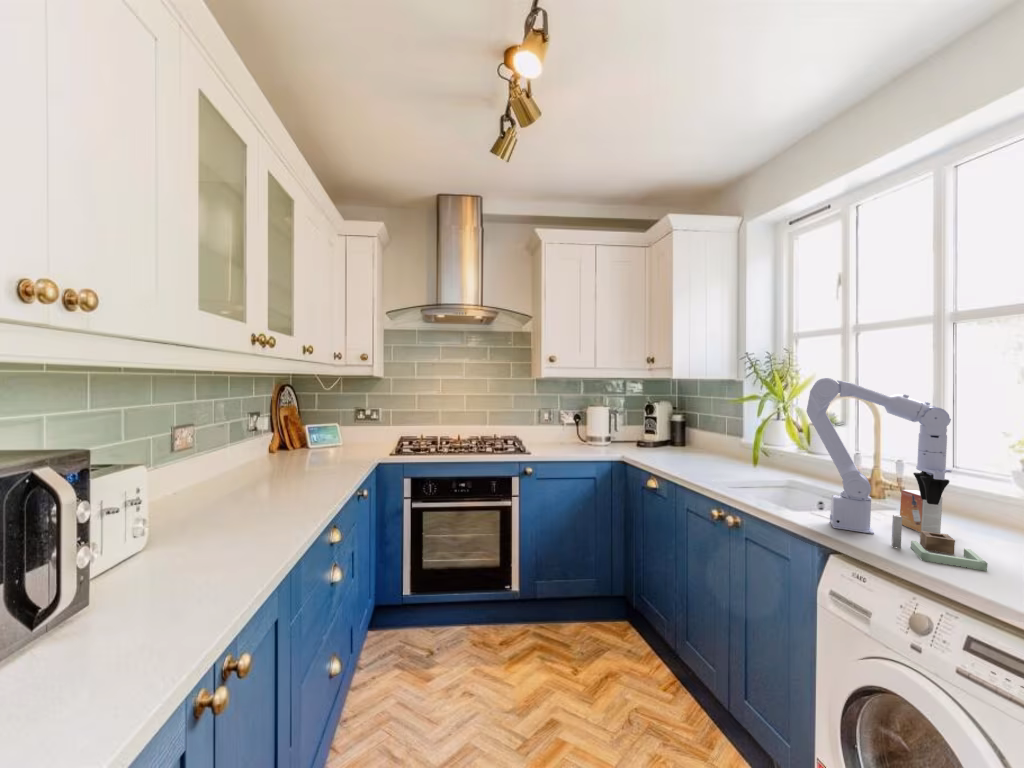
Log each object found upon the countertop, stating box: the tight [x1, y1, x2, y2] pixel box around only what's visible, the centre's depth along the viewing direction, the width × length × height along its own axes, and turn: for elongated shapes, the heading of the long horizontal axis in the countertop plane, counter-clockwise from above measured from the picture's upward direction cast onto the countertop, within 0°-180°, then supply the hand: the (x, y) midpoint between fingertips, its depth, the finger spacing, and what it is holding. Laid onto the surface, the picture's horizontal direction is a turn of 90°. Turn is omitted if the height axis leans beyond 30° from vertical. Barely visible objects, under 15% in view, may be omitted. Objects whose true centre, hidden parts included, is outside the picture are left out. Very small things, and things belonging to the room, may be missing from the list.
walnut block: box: [919, 531, 956, 555], centre depth 121 cm, size 5×5×4 cm
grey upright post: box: [891, 514, 903, 549], centre depth 122 cm, size 2×2×8 cm
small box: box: [899, 489, 943, 533], centre depth 138 cm, size 8×6×10 cm
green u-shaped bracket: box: [910, 540, 988, 572], centre depth 115 cm, size 11×10×2 cm
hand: (929, 501), depth 128 cm, fingers open, 5 cm apart
